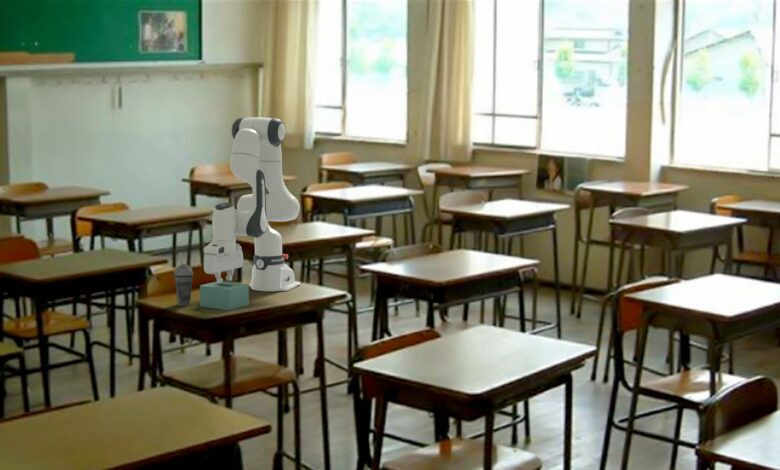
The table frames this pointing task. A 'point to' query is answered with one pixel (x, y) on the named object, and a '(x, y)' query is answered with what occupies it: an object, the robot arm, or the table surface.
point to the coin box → (224, 295)
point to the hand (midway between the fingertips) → (224, 282)
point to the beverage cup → (183, 283)
